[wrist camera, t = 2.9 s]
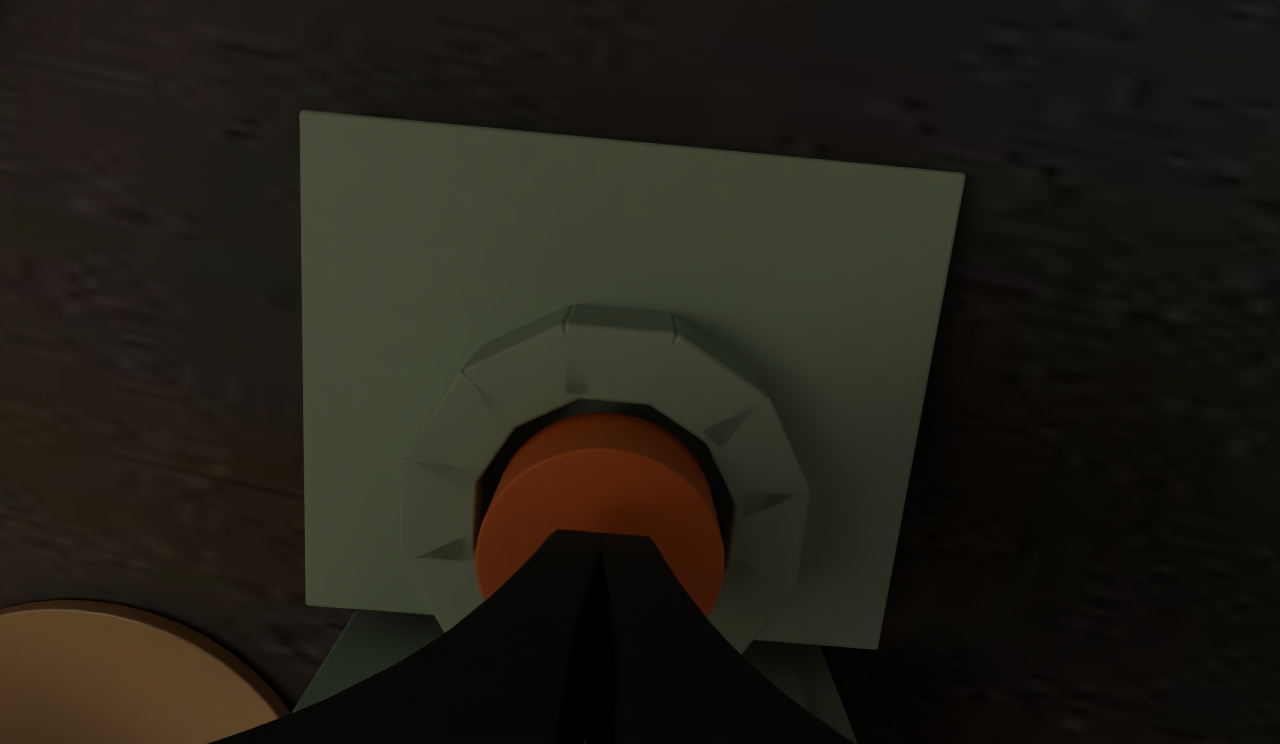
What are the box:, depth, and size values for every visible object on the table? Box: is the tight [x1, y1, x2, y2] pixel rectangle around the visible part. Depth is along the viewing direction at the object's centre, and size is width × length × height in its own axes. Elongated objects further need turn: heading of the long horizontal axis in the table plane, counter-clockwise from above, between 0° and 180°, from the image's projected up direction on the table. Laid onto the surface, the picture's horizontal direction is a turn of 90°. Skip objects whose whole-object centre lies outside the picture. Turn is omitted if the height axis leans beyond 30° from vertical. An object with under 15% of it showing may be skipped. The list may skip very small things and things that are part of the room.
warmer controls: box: [300, 110, 965, 655], centre depth 14 cm, size 9×11×3 cm
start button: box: [476, 412, 725, 618], centre depth 12 cm, size 4×4×2 cm
